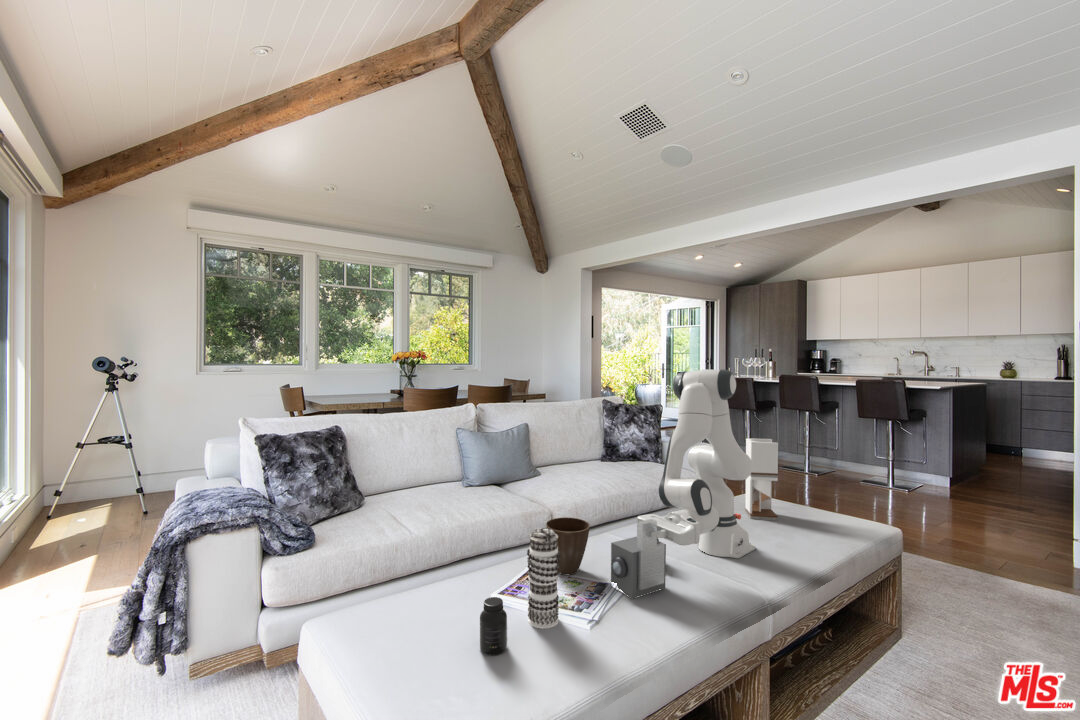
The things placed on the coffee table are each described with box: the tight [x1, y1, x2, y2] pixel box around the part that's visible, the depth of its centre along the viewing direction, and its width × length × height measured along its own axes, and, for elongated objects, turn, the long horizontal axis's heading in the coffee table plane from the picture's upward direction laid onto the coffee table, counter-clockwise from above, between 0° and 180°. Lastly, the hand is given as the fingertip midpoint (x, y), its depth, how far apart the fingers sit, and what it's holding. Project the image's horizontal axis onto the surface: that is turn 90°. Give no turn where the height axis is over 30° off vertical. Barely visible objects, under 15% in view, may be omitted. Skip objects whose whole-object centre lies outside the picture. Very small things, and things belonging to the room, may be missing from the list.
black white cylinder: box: [526, 527, 560, 630], centre depth 144 cm, size 9×9×25 cm
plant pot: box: [545, 516, 591, 576], centre depth 177 cm, size 15×15×16 cm
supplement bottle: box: [479, 596, 508, 656], centre depth 130 cm, size 7×7×12 cm
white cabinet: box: [744, 438, 779, 521], centre depth 240 cm, size 11×11×35 cm
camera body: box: [610, 536, 667, 599], centre depth 164 cm, size 16×10×14 cm, turn 122°
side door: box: [636, 519, 666, 590], centre depth 160 cm, size 10×2×20 cm, turn 122°
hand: (646, 533), depth 159 cm, fingers closed on side door, 2 cm apart
